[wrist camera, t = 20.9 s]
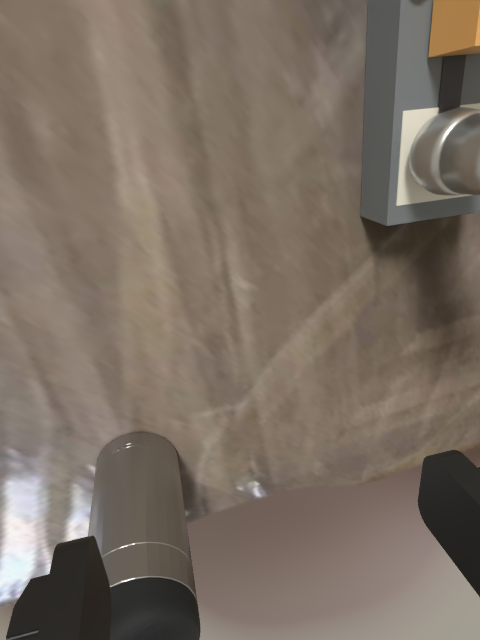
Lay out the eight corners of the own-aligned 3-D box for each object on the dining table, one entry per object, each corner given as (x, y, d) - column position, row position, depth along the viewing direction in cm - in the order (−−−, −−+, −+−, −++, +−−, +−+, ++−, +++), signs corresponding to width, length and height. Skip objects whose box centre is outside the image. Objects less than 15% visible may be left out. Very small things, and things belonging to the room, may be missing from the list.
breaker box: (448, 203, 44) (489, 212, 39) (360, 215, 42) (391, 227, 37) (477, -38, 36) (535, -66, 30) (368, -33, 34) (411, -63, 29)
